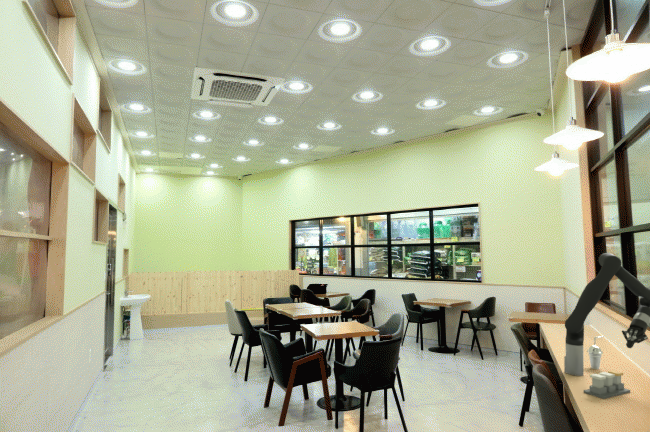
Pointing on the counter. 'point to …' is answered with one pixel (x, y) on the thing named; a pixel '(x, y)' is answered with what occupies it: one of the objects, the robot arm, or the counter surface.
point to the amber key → (616, 376)
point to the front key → (597, 380)
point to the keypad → (607, 391)
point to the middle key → (608, 378)
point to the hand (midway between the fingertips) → (628, 347)
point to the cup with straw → (595, 355)
